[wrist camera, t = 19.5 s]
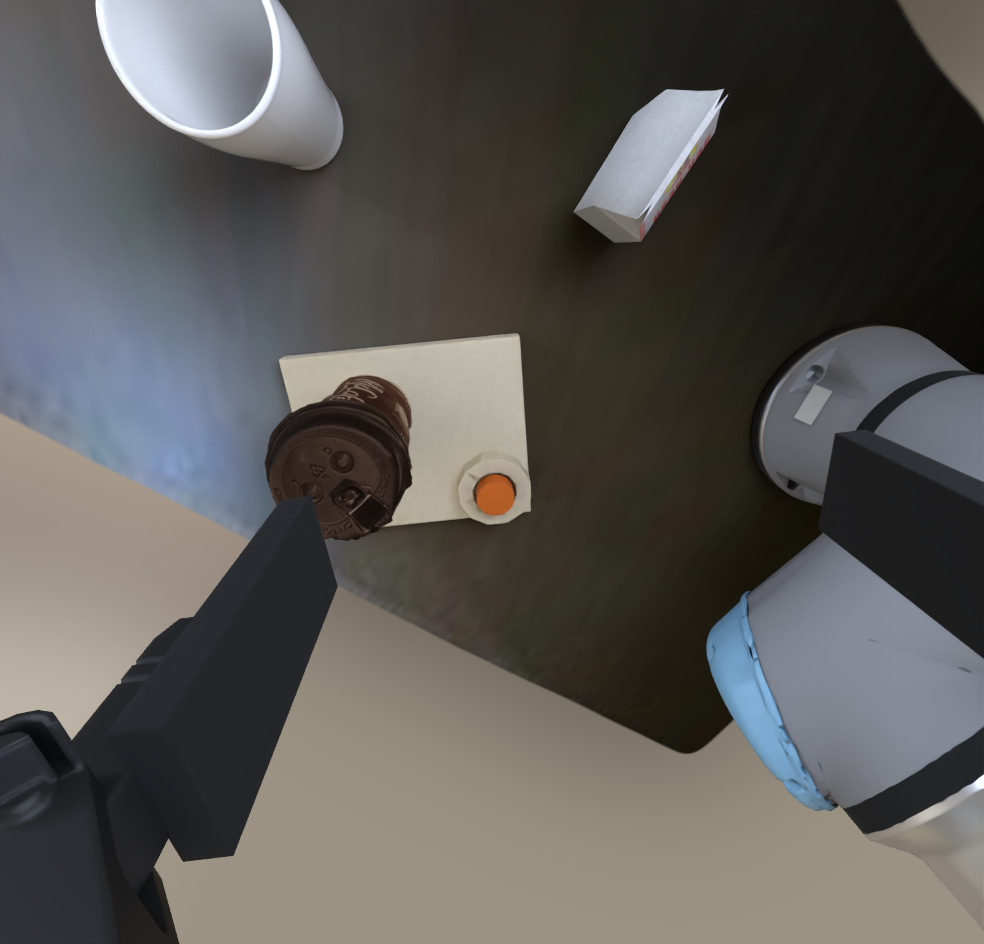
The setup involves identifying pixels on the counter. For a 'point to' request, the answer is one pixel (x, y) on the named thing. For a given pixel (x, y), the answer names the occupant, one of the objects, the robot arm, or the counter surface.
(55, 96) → the counter surface
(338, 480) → the coffee cup
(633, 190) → the grey tapered block
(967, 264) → the counter surface
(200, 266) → the counter surface
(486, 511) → the button
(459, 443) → the scale
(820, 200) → the counter surface
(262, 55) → the drinking glass
